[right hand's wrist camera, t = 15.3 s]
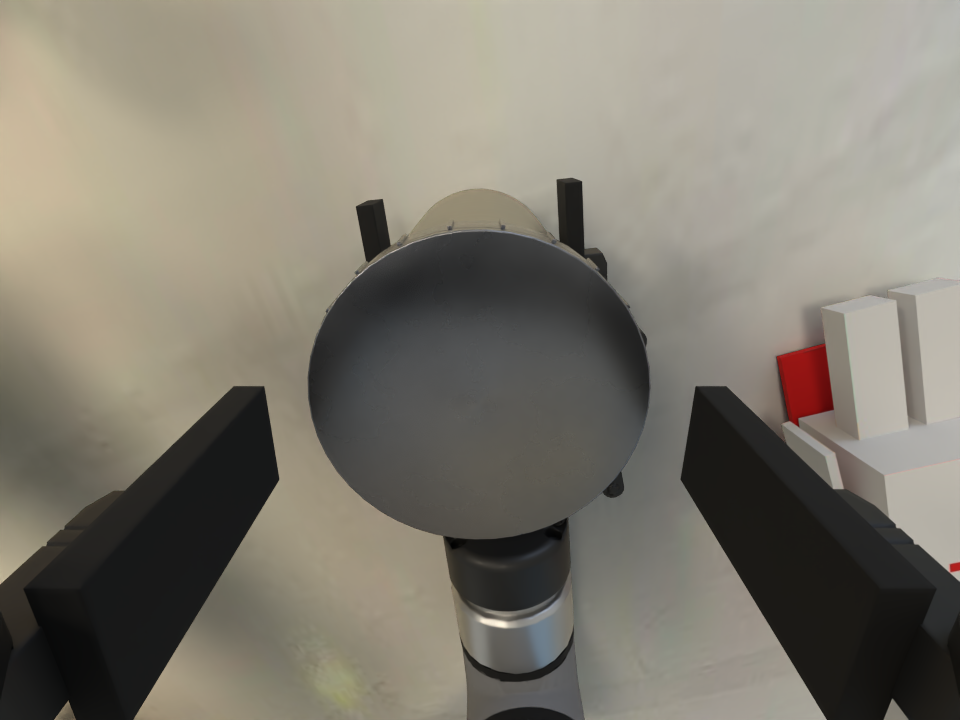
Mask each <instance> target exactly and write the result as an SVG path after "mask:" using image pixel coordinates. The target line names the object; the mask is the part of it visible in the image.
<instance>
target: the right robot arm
mask: <svg viewBox="0 0 960 720" xmlns="http://www.w3.org/2000/svg"><path fill="white" fill-rule="evenodd" d="M278 481H279V474H278V468H277V462H276V456H275V450H274V443H273V437H272V431H271V425H270V419H269V413H268V406H267V400H266V394H265V388H264V386H234V387H233V388H232V389H231V390H229V391H228V392H227V393H226V394H225V395H224V396H223V397H222V398H221V399H220V400H219V401H218V402H217V403H216V404H215V405H214V406H213V407H212V408H211V409H210V410H209V411H208V412H207V413H206V414H204V415H203V416H202V417H201V418H200V419H199V420H198V421H197V422H196V423H195V424H194V425H193V426H192V427H191V428H190V429H189V430H188V431H187V432H186V433H185V434H184V435H183V436H182V437H181V438H179V439H178V440H177V441H176V442H175V443H174V444H173V445H172V446H171V447H170V448H169V449H168V450H167V451H166V452H165V453H164V454H163V455H162V456H161V457H160V458H159V459H158V460H157V461H156V462H154V463H153V464H152V465H151V466H150V467H149V468H148V469H147V470H146V471H145V472H144V473H143V474H142V475H141V476H140V477H139V478H138V479H137V480H136V481H135V482H134V483H133V484H132V485H131V486H129V487H128V488H127V489H126V490H125V491H113V492H111V493H110V494H108V495H106V496H104V497H103V498H101V499H99V500H97V501H96V502H94V503H92V504H90V505H89V506H87V507H85V508H84V509H83V510H82V511H81V512H80V513H79V514H78V515H77V516H75V517H74V518H73V519H72V520H71V521H70V522H69V523H68V524H67V525H65V529H64V530H60V531H59V532H58V533H57V534H56V535H54V536H53V537H52V538H51V539H50V540H49V541H48V542H47V546H42V547H41V548H40V549H39V550H38V551H37V552H36V553H35V554H33V555H32V556H31V557H30V558H29V559H28V560H27V561H26V562H25V563H24V564H22V565H21V566H20V567H19V568H18V569H17V570H16V571H15V572H14V573H12V574H11V575H10V576H9V577H8V578H7V579H6V580H5V581H4V582H3V583H1V584H0V720H54V719H55V717H56V716H57V715H58V713H59V712H60V711H61V709H62V708H63V707H64V705H65V704H66V703H67V701H68V700H69V703H70V705H71V708H72V710H73V713H74V715H75V718H76V720H133V719H134V717H135V716H136V714H137V713H138V711H139V709H140V708H141V706H142V704H143V703H144V701H145V699H146V698H147V696H148V694H149V693H150V691H151V690H152V688H153V686H154V685H155V683H156V681H157V680H158V678H159V676H160V675H161V673H162V671H163V670H164V668H165V667H166V665H167V663H168V662H169V660H170V658H171V657H172V655H173V653H174V652H175V650H176V648H177V647H178V645H179V644H180V642H181V640H182V639H183V637H184V635H185V634H186V632H187V630H188V629H189V627H190V625H191V624H192V622H193V621H194V619H195V617H196V616H197V614H198V612H199V611H200V609H201V607H202V606H203V604H204V602H205V601H206V599H207V598H208V596H209V594H210V593H211V591H212V589H213V588H214V586H215V584H216V583H217V581H218V579H219V578H220V576H221V575H222V573H223V571H224V570H225V568H226V566H227V565H228V563H229V561H230V560H231V558H232V557H233V555H234V553H235V552H236V550H237V548H238V547H239V545H240V543H241V542H242V540H243V538H244V537H245V535H246V534H247V532H248V530H249V529H250V527H251V525H252V524H253V522H254V520H255V519H256V517H257V515H258V514H259V512H260V511H261V509H262V507H263V506H264V504H265V502H266V501H267V499H268V497H269V496H270V494H271V492H272V491H273V489H274V488H275V486H276V484H277V483H278ZM681 481H682V483H683V484H684V486H685V488H686V489H687V491H688V492H689V494H690V496H691V497H692V499H693V501H694V502H695V504H696V506H697V507H698V509H699V511H700V512H701V514H702V515H703V517H704V519H705V520H706V522H707V524H708V525H709V527H710V529H711V530H712V532H713V534H714V535H715V537H716V538H717V540H718V542H719V543H720V545H721V547H722V548H723V550H724V552H725V553H726V555H727V557H728V558H729V560H730V561H731V563H732V565H733V566H734V568H735V570H736V571H737V573H738V575H739V576H740V578H741V579H742V581H743V583H744V584H745V586H746V588H747V589H748V591H749V593H750V594H751V596H752V598H753V599H754V601H755V602H756V604H757V606H758V607H759V609H760V611H761V612H762V614H763V616H764V617H765V619H766V621H767V622H768V624H769V625H770V627H771V629H772V630H773V632H774V634H775V635H776V637H777V639H778V640H779V642H780V644H781V645H782V647H783V648H784V650H785V652H786V653H787V655H788V657H789V658H790V660H791V662H792V663H793V665H794V667H795V668H796V670H797V671H798V673H799V675H800V676H801V678H802V680H803V681H804V683H805V685H806V686H807V688H808V690H809V691H810V693H811V694H812V696H813V698H814V699H815V701H816V703H817V704H818V706H819V708H820V709H821V711H822V713H823V714H824V716H825V717H826V719H827V720H884V718H885V715H886V713H887V710H888V708H889V705H890V703H891V700H892V698H893V700H894V701H895V702H896V704H897V705H898V706H899V708H900V709H901V710H902V712H903V713H904V714H905V716H906V717H907V718H908V720H960V581H958V580H957V579H956V578H955V577H954V576H953V575H952V574H951V573H950V572H948V571H947V570H946V569H945V568H944V567H943V566H942V565H941V564H940V563H938V562H937V561H936V560H935V559H934V558H933V557H932V556H931V555H930V554H928V553H927V552H926V551H925V550H924V549H923V548H922V547H921V546H919V545H918V544H914V540H913V539H912V538H911V537H909V536H908V535H907V534H906V533H905V532H904V531H903V530H902V529H901V528H896V524H895V523H894V522H893V521H892V520H891V519H889V518H888V517H887V516H886V515H885V514H884V513H883V512H882V511H881V510H879V509H878V508H877V507H876V506H875V505H873V504H872V503H870V502H868V501H866V500H865V499H863V498H861V497H859V496H858V495H856V494H854V493H852V492H851V491H849V490H847V489H833V488H832V487H831V486H829V485H828V484H827V483H826V482H825V481H824V480H823V479H822V478H821V477H820V476H819V475H818V474H817V473H816V472H815V471H814V470H813V469H812V468H811V467H810V466H809V465H808V464H807V463H806V462H804V461H803V460H802V459H801V458H800V457H799V456H798V455H797V454H796V453H795V452H794V451H793V450H792V449H791V448H790V447H789V446H788V445H787V444H786V443H785V442H784V441H783V440H782V439H781V438H779V437H778V436H777V435H776V434H775V433H774V432H773V431H772V430H771V429H770V428H769V427H768V426H767V425H766V424H765V423H764V422H763V421H762V420H761V419H760V418H759V417H758V416H757V415H756V414H754V413H753V412H752V411H751V410H750V409H749V408H748V407H747V406H746V405H745V404H744V403H743V402H742V401H741V400H740V399H739V398H738V397H737V396H736V395H735V394H734V393H733V392H732V391H731V390H729V389H728V388H727V387H726V386H696V388H695V394H694V400H693V406H692V413H691V419H690V425H689V431H688V437H687V443H686V450H685V456H684V462H683V468H682V474H681Z"/></svg>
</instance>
